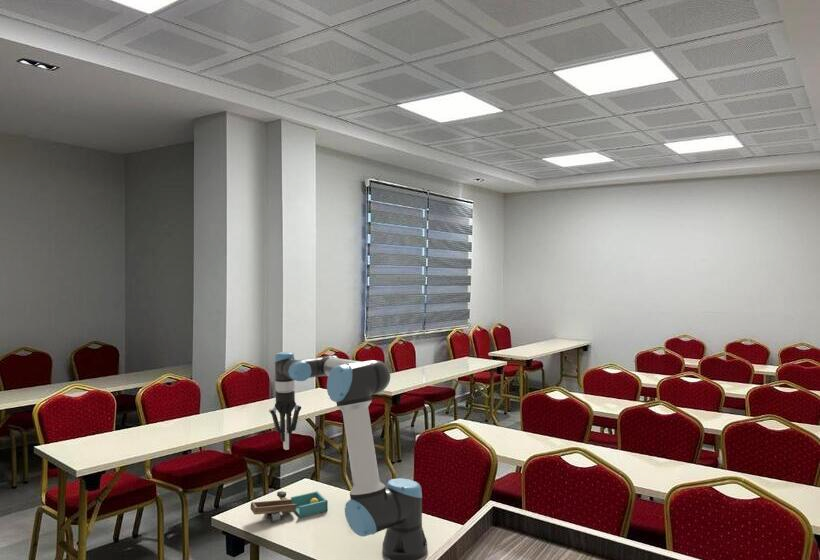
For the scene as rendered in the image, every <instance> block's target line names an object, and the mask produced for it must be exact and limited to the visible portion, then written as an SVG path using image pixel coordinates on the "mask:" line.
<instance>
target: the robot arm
mask: <svg viewBox="0 0 820 560" xmlns="http://www.w3.org/2000/svg"><path fill="white" fill-rule="evenodd" d="M274 373H275V374H274V375H275V376H274V377H275V381H274V383H275V385H274V386H275V391H276V392H275V404H274V406H273V408H270V409H269V410H268V412H269V413H270V415H271V417H272V420H273V425H274V427H275V431H276V433H278V434H280V441H281V442H282V446H283V448H282V449H284V450H285V451H287V450H290V441H291V440H292V433H293V432H294V431H296V429H297V426H298V425H297V424H298V419H299V416H300V415H299V414H300V411H301V410H302V406H301V405H299V404H297V402H296V398H295V395H296V393H295V387H296V386H295V381H296V382H305V381H307V380H308V379H313V378H317V377H327V380H326V392H327V394H328V397H329V399H330V401H332V402H335V403H336V408H337V409H338V410H339V411H341V412H342V416H343V417H342V418H343V425H344V432H345V438H346V445H347V452H348V457H349V464H350V472H351V479H352V489H351V490H350V491H349V500H348V501H346V502H345V505H344V506H345V507H344V515H345V519H346V522H347V524H348V526H349V528H350V529H351V530H352V532H353V533H355V535H357V536H358V537H367V536H370V535H371V536H372V535H373V536H374V535H375V534H376V533H379V532H381V531H383V530H386V531H385V534H384V538H383V540H382V554H383V555H385V556H386V557H387V558H388V559H390V560H418V559H421V558H423V557H424V556H425V555H426V554H427V552H428V540H427V538H426V535H425V530H424V528H423V494H422V487H421V485H420V483H419V482H417V481H416V480H415V481H414V480H413V479H408V478H403V477H402V478H401V477H400V478H399V477H398V478H392V479H389V480H388V481H387V483H386V485H385V484H384V483H382V482H381V480H380V474H379V469H378V463H377V461H378V460H377V456H376V448H375V445H374V444H375V443H374V437H373V429H372V424H371V423H372V422H371V416H370V411H369V406H370V404H371V403H372V396H373V395H377V394H379V393H382V392H383V391H384V390H386V389H387V387H388V385H389V384H390V381H391V370H390V369H389V367H388V365H387V364H385V362H383V361H381V360H374V359H372V360H371V359H369V360H368V359H367V360H365V361H360V360H353V359H346V358H345V359H344V358H339V357H338V356H337V355H326V356H320V357H314V358H313V357H311V358H305V359H304V358H303V359H295V354H294V352H291V351H281V352H277V353H276V354H274ZM293 410H294V411H293ZM277 412H278V414H279V420H278V417H277ZM292 412H293V414H292ZM292 415H293V416H292Z"/></svg>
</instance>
